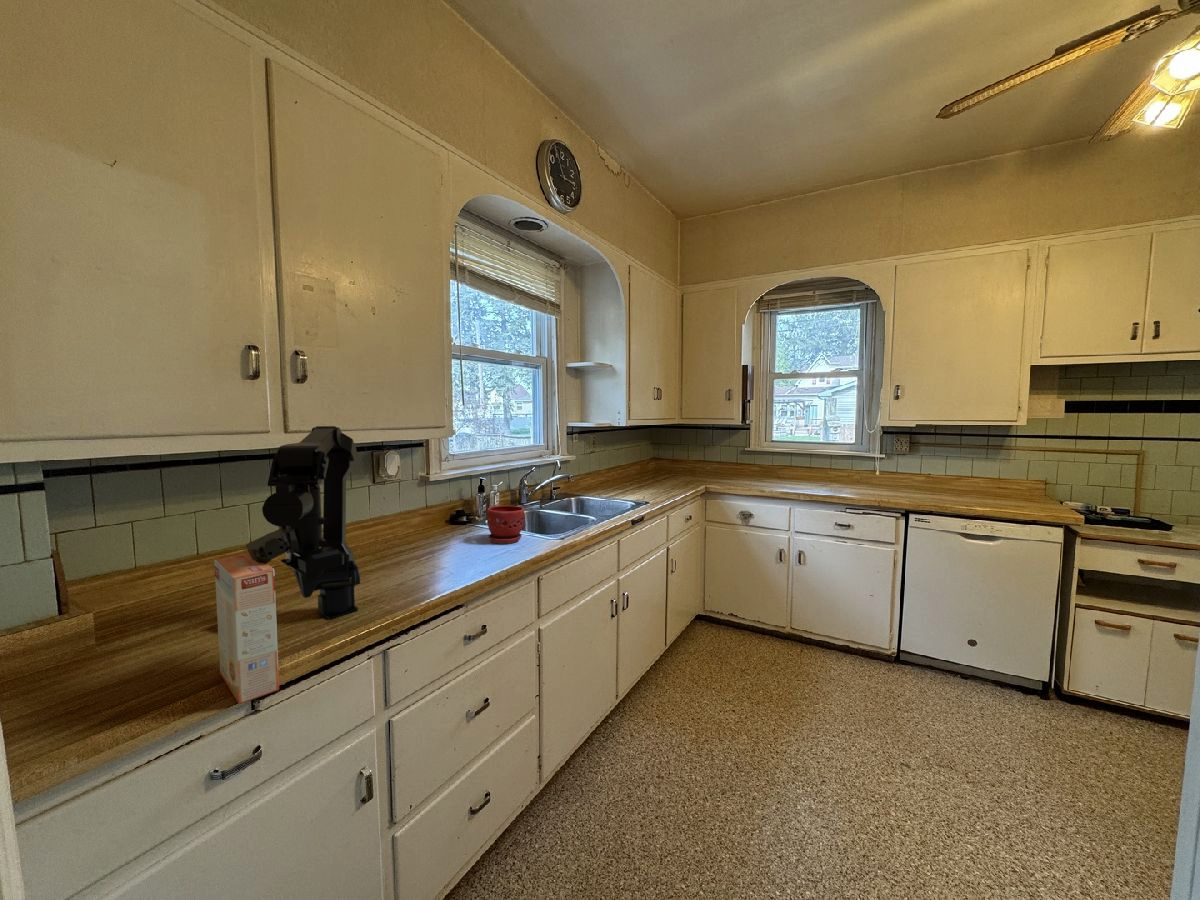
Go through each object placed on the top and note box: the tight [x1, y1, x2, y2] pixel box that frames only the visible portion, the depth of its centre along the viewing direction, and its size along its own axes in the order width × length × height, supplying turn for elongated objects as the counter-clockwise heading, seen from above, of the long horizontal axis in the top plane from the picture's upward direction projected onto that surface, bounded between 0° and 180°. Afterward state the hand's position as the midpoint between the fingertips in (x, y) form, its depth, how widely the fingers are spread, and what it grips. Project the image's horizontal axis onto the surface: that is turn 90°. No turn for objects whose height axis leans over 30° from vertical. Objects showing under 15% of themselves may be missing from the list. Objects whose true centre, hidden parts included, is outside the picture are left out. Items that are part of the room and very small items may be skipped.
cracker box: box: [213, 552, 280, 705], centre depth 80 cm, size 14×6×21 cm, turn 48°
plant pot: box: [486, 505, 525, 544], centre depth 169 cm, size 13×13×12 cm
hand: (306, 596), depth 87 cm, fingers closed
